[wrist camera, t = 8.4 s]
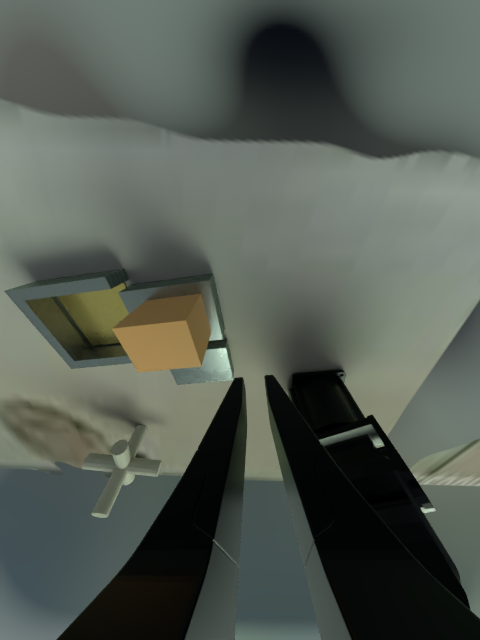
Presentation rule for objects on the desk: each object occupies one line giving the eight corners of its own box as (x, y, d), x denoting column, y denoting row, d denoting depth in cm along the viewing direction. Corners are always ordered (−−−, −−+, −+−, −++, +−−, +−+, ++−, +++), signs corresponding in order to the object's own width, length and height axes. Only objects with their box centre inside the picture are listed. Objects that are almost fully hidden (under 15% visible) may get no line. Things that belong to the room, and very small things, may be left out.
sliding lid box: (209, 256, 15) (203, 263, 13) (227, 339, 20) (225, 354, 17) (35, 281, 16) (4, 291, 14) (89, 353, 21) (71, 368, 19)
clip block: (201, 293, 15) (186, 320, 11) (211, 332, 17) (201, 366, 13) (145, 300, 15) (111, 328, 11) (161, 337, 17) (138, 372, 13)
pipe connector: (105, 406, 26) (38, 497, 18) (172, 414, 27) (139, 506, 19) (115, 439, 31) (66, 522, 23) (171, 445, 32) (145, 528, 24)
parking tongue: (227, 339, 20) (225, 347, 18) (233, 370, 22) (233, 380, 21) (167, 345, 20) (162, 354, 19) (181, 375, 23) (177, 384, 21)
